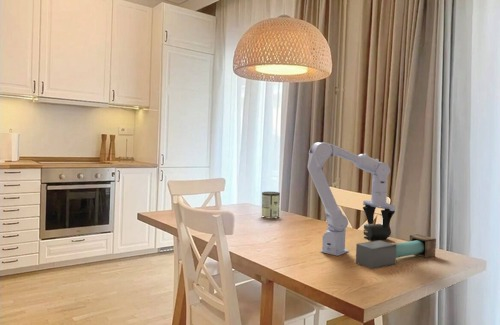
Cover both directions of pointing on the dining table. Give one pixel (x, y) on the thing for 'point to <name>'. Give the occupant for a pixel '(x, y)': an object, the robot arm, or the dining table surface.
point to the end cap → (376, 232)
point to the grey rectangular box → (375, 254)
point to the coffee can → (270, 204)
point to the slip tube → (410, 248)
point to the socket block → (426, 245)
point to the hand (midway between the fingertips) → (377, 225)
